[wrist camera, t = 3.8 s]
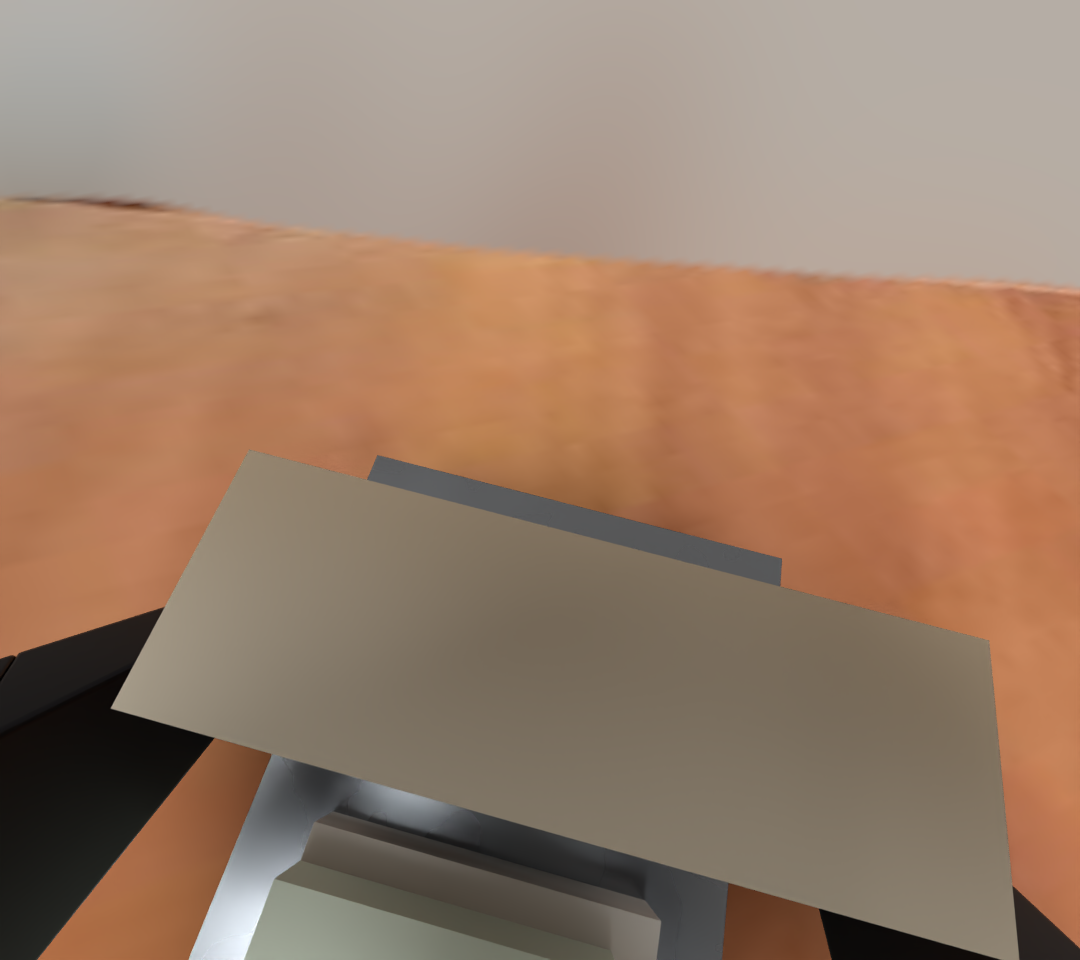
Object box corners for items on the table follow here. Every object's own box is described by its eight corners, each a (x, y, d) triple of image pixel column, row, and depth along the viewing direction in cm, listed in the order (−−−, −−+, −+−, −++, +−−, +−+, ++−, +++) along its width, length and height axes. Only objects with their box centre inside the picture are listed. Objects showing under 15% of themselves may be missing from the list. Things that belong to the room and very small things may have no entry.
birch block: (623, 776, 14) (1019, 964, 3) (405, 716, 15) (110, 707, 4) (636, 697, 15) (990, 640, 4) (429, 641, 15) (249, 449, 4)
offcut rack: (661, 1430, 11) (781, 1967, 6) (90, 1244, 11) (-198, 1611, 7) (740, 593, 18) (824, 549, 13) (385, 501, 18) (346, 428, 13)
